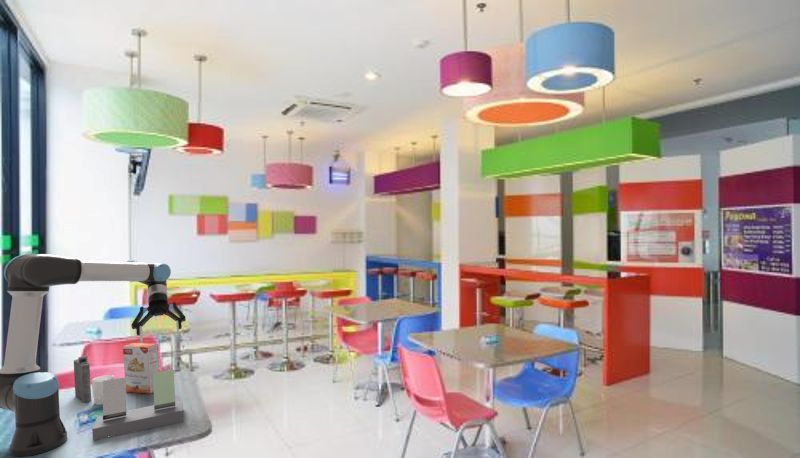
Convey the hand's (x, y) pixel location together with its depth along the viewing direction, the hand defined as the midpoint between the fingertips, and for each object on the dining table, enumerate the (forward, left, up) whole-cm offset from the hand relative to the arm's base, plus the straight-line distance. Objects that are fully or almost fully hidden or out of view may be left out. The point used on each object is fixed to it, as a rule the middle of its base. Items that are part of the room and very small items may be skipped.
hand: (160, 338), depth 186 cm
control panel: (-20, -9, -26) cm, 34 cm away
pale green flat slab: (-15, -15, -21) cm, 30 cm away
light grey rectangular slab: (-25, -3, -21) cm, 33 cm away
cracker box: (+9, +19, -27) cm, 34 cm away
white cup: (-4, +26, -27) cm, 38 cm away
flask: (-2, +39, -27) cm, 48 cm away
